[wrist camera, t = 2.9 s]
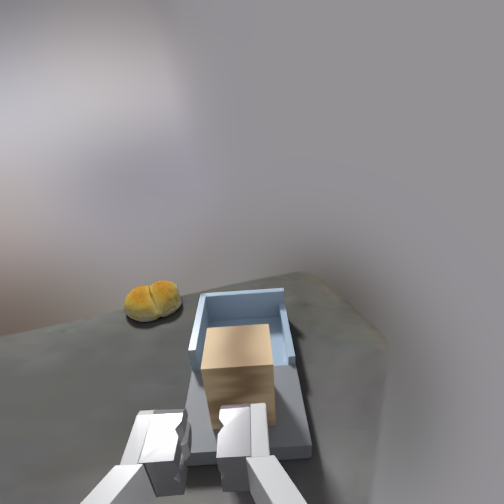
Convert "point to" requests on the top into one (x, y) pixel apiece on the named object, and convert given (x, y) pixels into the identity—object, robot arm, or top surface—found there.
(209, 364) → the oak block
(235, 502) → the top surface
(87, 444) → the top surface
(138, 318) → the bread roll
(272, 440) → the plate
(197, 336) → the tray
